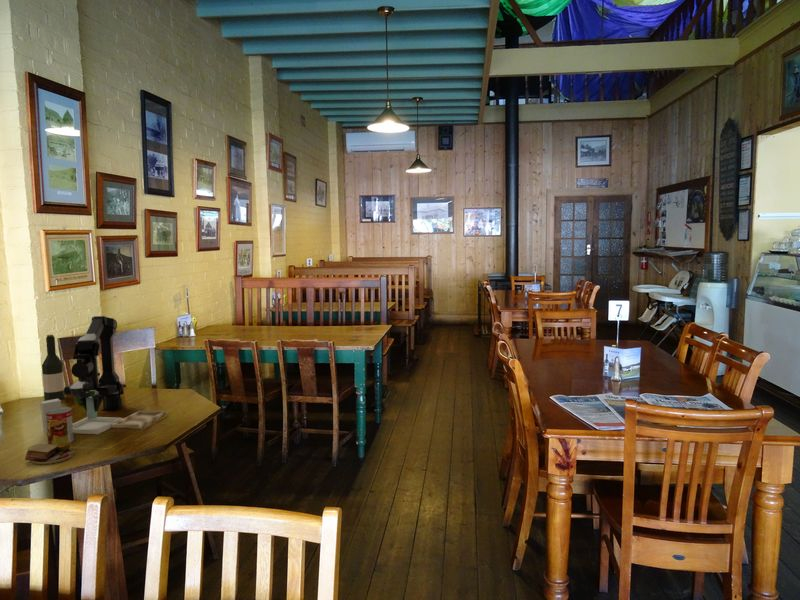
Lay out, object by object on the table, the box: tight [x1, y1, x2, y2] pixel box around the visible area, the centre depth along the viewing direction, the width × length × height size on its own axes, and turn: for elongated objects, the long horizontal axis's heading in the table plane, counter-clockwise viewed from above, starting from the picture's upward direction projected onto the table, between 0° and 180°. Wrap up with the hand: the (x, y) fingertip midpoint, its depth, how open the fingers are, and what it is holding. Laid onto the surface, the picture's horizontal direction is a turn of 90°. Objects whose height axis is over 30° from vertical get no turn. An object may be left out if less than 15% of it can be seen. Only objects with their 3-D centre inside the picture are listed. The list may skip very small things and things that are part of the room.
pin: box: [86, 397, 98, 419], centre depth 219 cm, size 3×3×8 cm
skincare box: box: [40, 399, 62, 434], centre depth 217 cm, size 6×4×12 cm
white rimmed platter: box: [72, 416, 123, 435], centre depth 220 cm, size 15×15×2 cm
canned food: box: [46, 406, 74, 446], centre depth 204 cm, size 8×8×12 cm
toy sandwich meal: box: [24, 442, 75, 466], centre depth 190 cm, size 12×14×5 cm
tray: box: [111, 410, 167, 430], centre depth 227 cm, size 18×12×2 cm, turn 172°
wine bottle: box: [41, 334, 66, 401], centre depth 261 cm, size 8×8×30 cm
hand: (91, 411), depth 220 cm, fingers closed on pin, 3 cm apart
